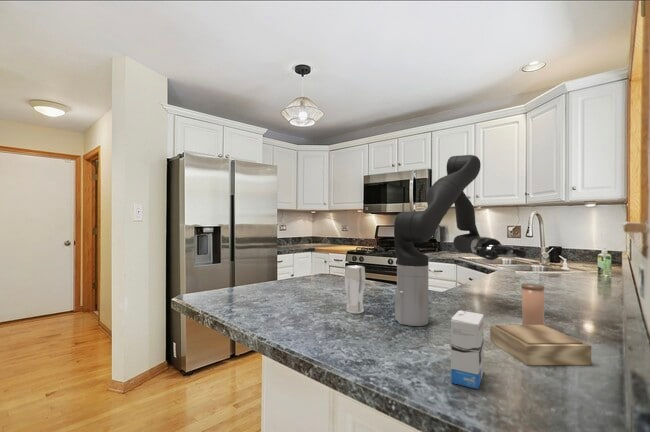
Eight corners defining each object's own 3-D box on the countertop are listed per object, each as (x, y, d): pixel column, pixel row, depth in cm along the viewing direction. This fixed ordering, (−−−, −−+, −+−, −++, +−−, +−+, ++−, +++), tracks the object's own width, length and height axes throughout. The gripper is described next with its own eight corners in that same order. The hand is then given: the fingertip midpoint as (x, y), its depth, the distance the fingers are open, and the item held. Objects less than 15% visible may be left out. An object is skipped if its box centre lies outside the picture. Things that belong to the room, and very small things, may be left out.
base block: (526, 365, 67) (526, 344, 68) (490, 340, 81) (490, 323, 82) (591, 364, 68) (591, 344, 68) (544, 340, 82) (543, 323, 82)
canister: (530, 334, 86) (529, 287, 86) (517, 328, 92) (517, 283, 92) (549, 334, 86) (549, 287, 87) (535, 328, 92) (535, 283, 92)
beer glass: (341, 312, 106) (341, 267, 107) (348, 307, 113) (348, 264, 113) (361, 314, 104) (362, 268, 104) (367, 309, 110) (367, 265, 111)
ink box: (479, 391, 57) (479, 324, 57) (449, 383, 60) (449, 319, 60) (484, 372, 64) (484, 312, 65) (458, 366, 67) (457, 309, 67)
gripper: (465, 237, 116) (486, 243, 100) (505, 236, 115) (533, 241, 99) (465, 258, 116) (486, 267, 100) (506, 257, 116) (533, 266, 99)
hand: (510, 254), depth 99 cm, fingers open, 8 cm apart
